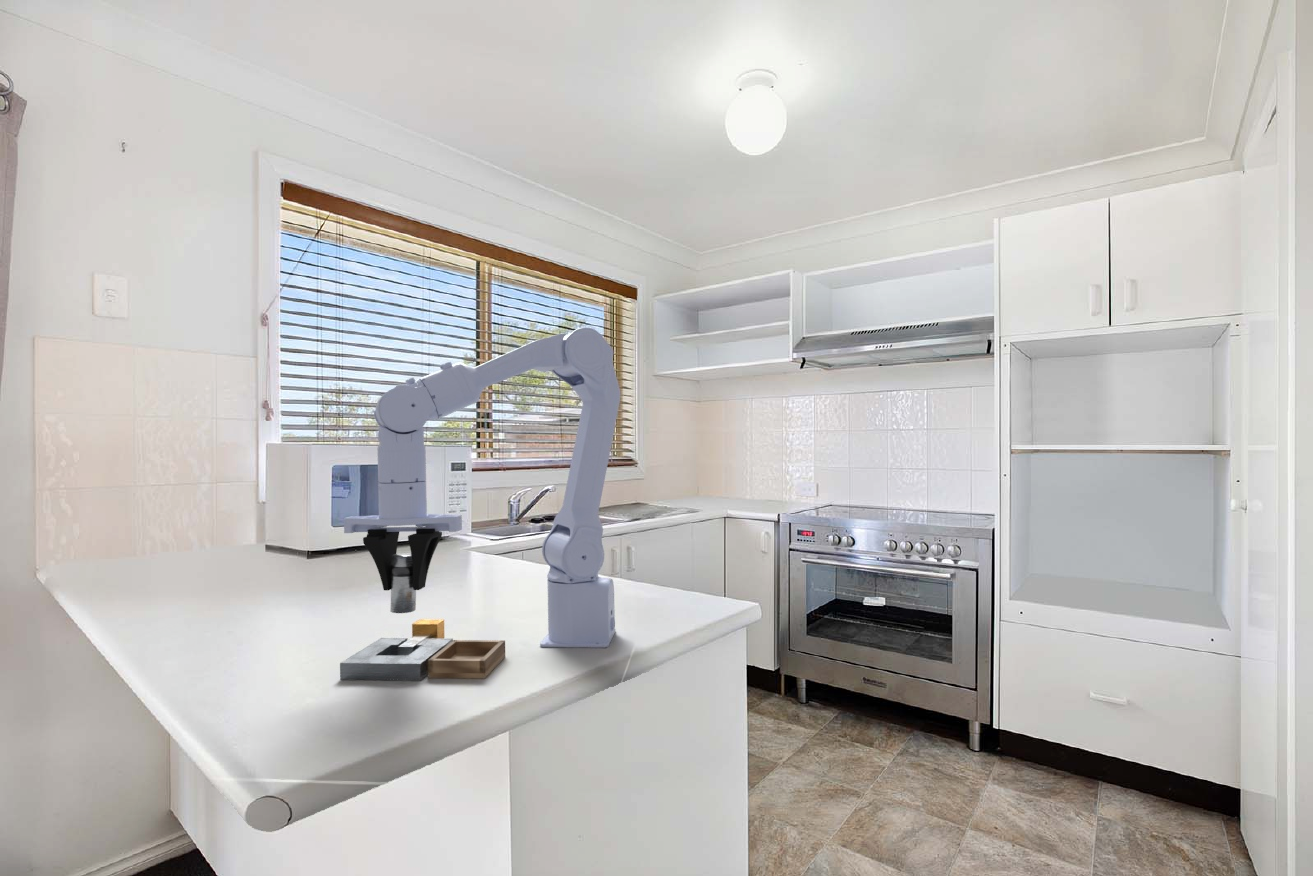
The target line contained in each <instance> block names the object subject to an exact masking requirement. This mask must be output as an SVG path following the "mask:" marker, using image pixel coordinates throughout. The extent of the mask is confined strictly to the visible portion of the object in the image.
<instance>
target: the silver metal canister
mask: <svg viewBox="0 0 1313 876" xmlns="http://www.w3.org/2000/svg"><path fill="white" fill-rule="evenodd" d="M390 575H391V589H390V613H393V614H407V613H412V612H414V611H416V607H417V606H416V605H417V604H416V602H417V590H414V589H413V564H412V556H411V552H407V553H405V552H404V553H396V554H394V555H392V564H391V565H390Z"/></svg>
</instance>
